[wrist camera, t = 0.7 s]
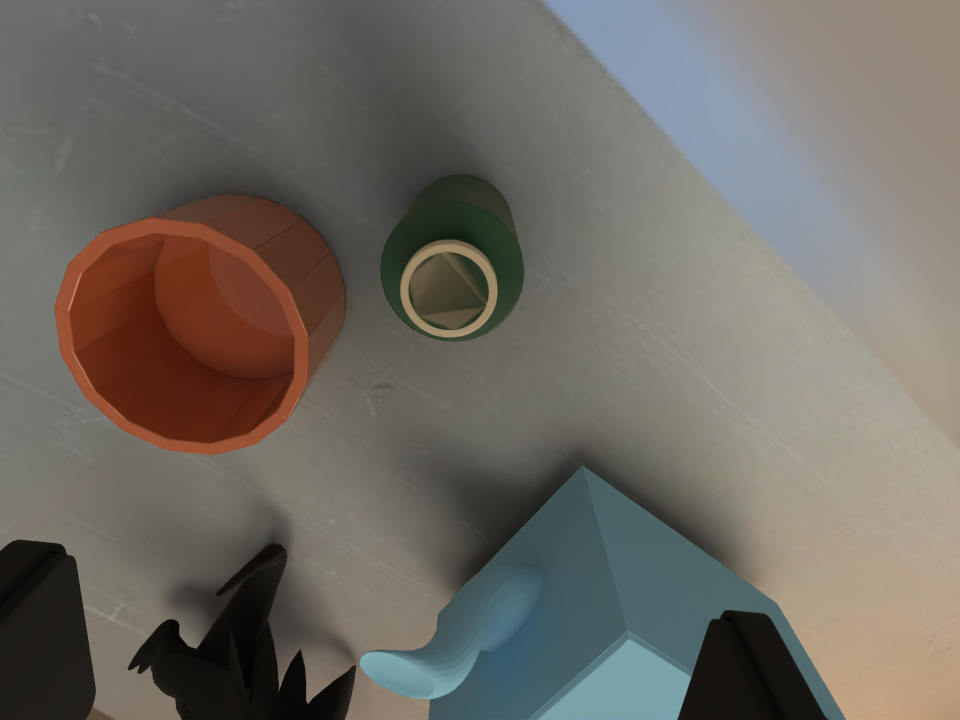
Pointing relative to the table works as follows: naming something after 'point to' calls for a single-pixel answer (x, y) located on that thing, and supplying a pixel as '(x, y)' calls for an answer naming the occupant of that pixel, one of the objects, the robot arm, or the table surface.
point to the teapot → (580, 620)
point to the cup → (201, 321)
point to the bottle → (454, 261)
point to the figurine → (240, 659)
